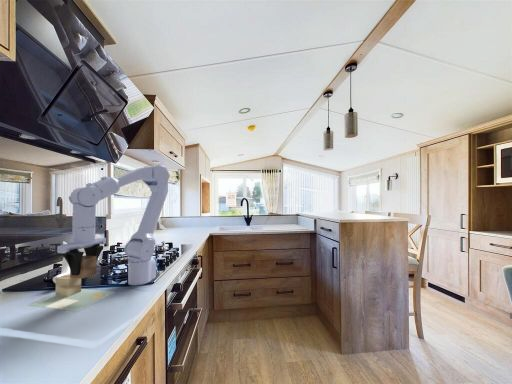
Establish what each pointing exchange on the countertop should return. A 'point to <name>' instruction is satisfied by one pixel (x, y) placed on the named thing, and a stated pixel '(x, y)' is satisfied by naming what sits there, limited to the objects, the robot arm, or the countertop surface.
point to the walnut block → (87, 267)
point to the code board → (73, 300)
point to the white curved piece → (63, 268)
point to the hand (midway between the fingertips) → (83, 272)
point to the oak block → (67, 285)
